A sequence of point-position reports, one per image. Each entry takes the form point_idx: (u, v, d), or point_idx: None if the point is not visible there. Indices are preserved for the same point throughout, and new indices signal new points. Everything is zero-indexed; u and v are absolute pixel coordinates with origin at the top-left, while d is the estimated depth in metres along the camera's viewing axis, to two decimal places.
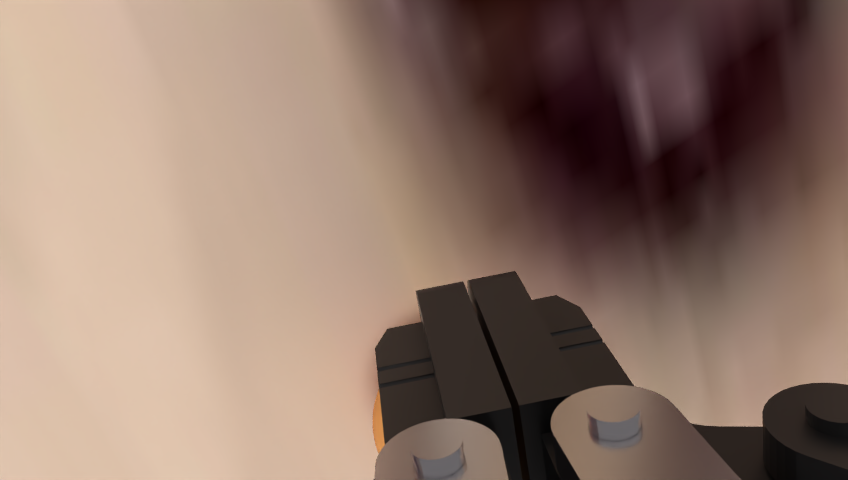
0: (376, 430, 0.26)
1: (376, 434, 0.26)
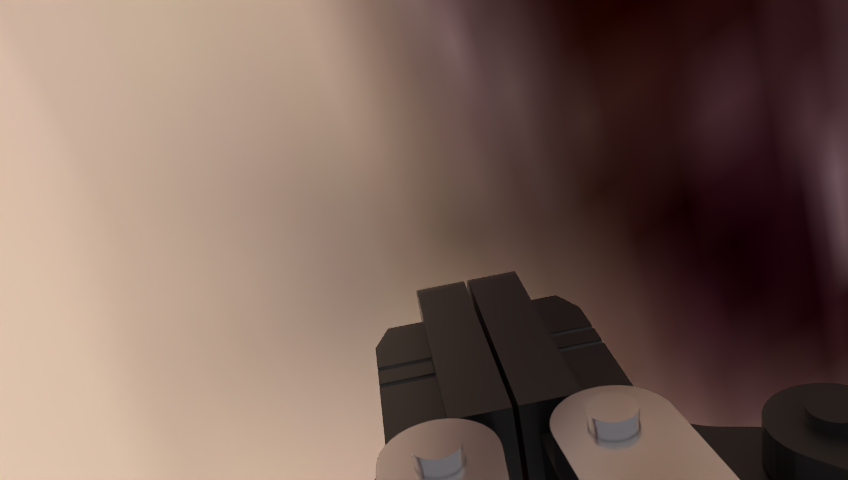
0: None
1: None
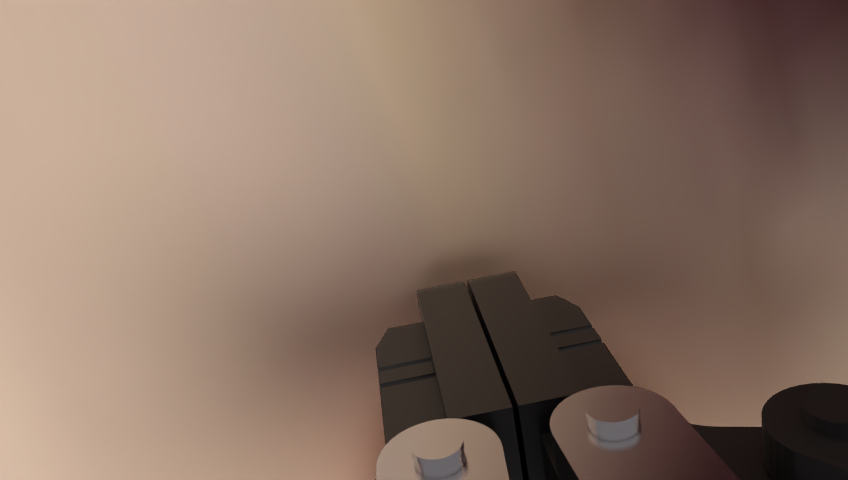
0: None
1: None
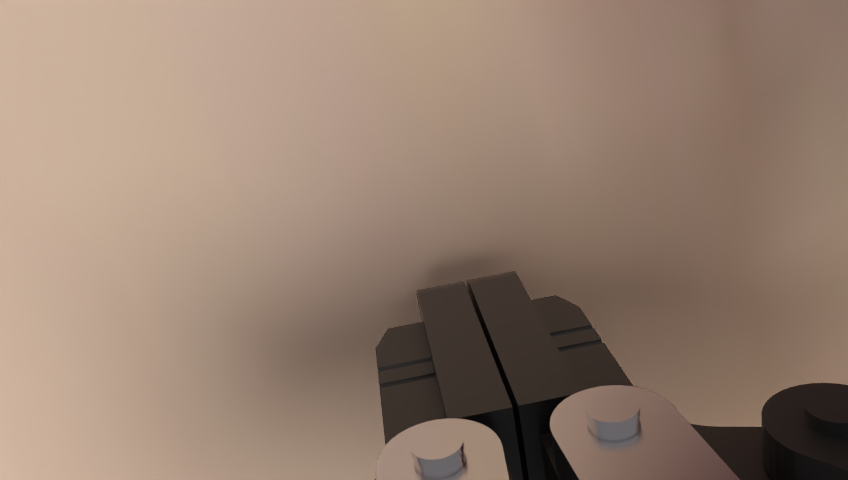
0: None
1: None
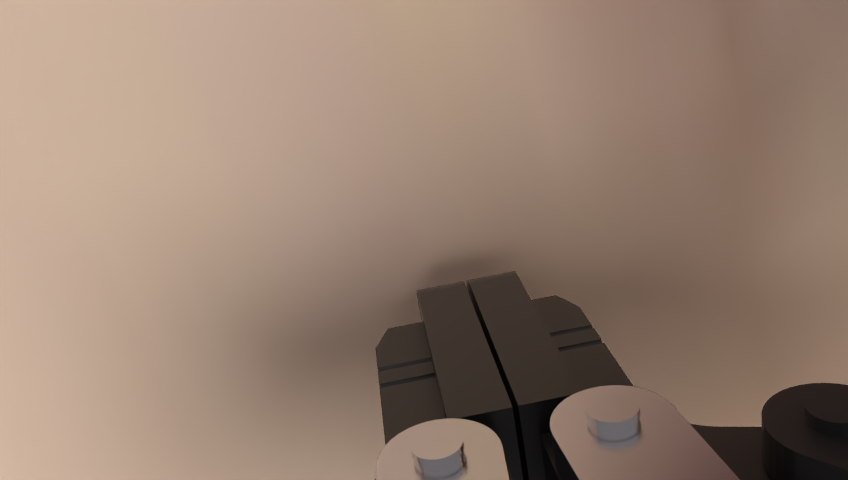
0: None
1: None
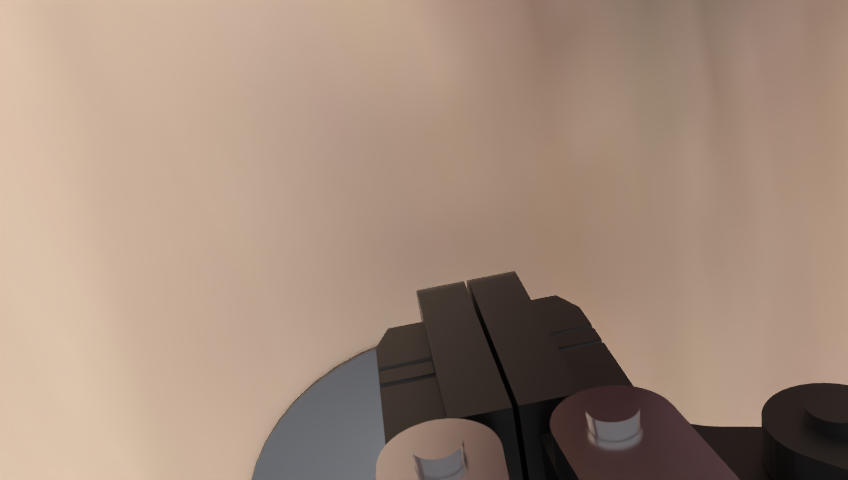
0: None
1: None
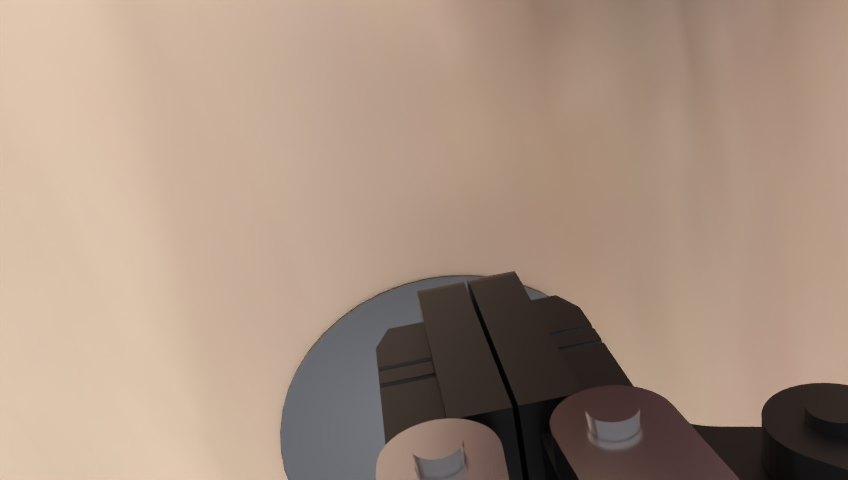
0: None
1: None
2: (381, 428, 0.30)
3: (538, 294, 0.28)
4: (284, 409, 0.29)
